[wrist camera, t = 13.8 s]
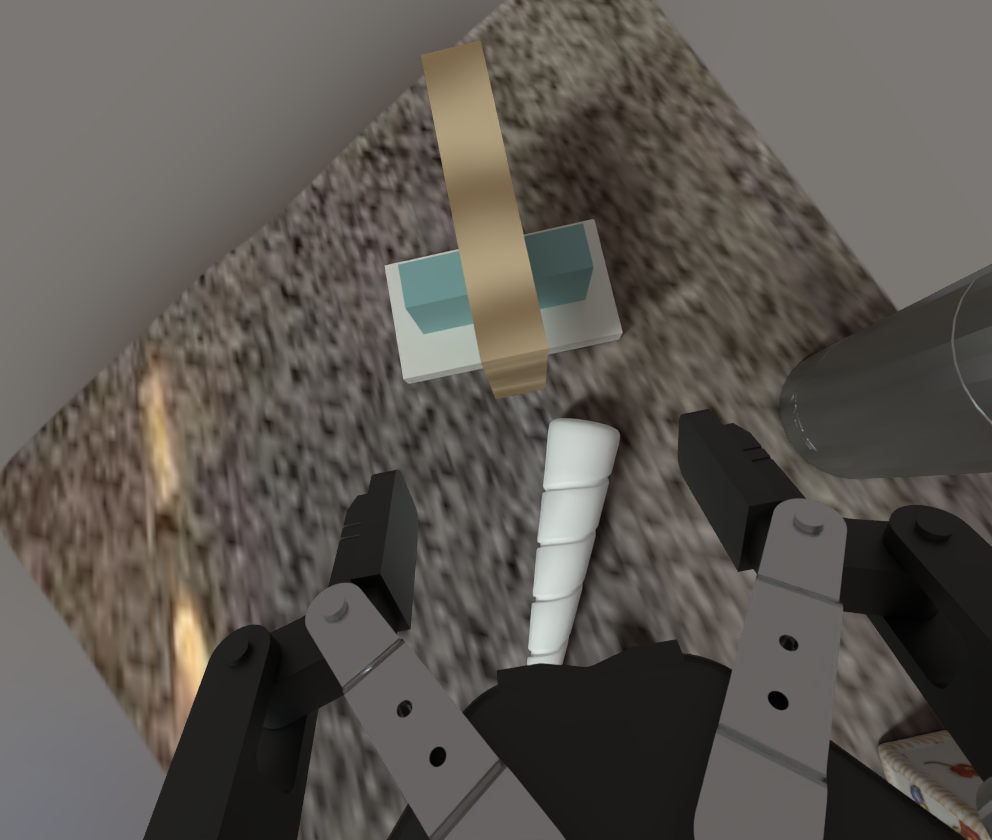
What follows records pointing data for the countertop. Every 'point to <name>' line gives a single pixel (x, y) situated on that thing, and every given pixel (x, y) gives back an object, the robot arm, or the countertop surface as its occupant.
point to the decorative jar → (936, 779)
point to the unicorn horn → (567, 528)
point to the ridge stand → (447, 315)
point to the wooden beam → (486, 221)
